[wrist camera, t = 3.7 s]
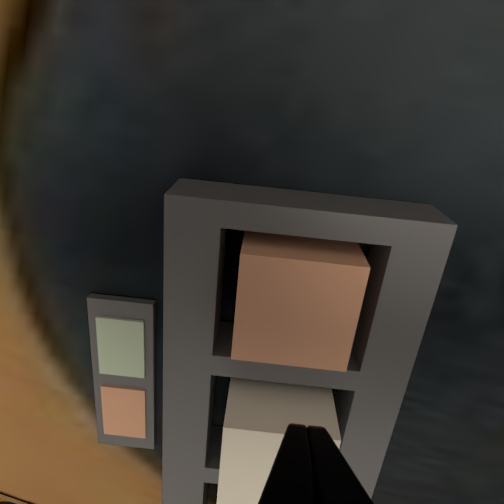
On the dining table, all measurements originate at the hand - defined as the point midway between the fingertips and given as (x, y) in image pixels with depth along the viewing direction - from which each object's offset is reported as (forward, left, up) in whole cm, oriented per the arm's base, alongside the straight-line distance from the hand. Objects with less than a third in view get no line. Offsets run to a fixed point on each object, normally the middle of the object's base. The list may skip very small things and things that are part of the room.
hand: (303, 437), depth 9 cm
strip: (-7, +7, -9) cm, 13 cm away
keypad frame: (-7, 0, -9) cm, 11 cm away
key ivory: (-7, 0, -7) cm, 10 cm away
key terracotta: (0, 0, -9) cm, 9 cm away
